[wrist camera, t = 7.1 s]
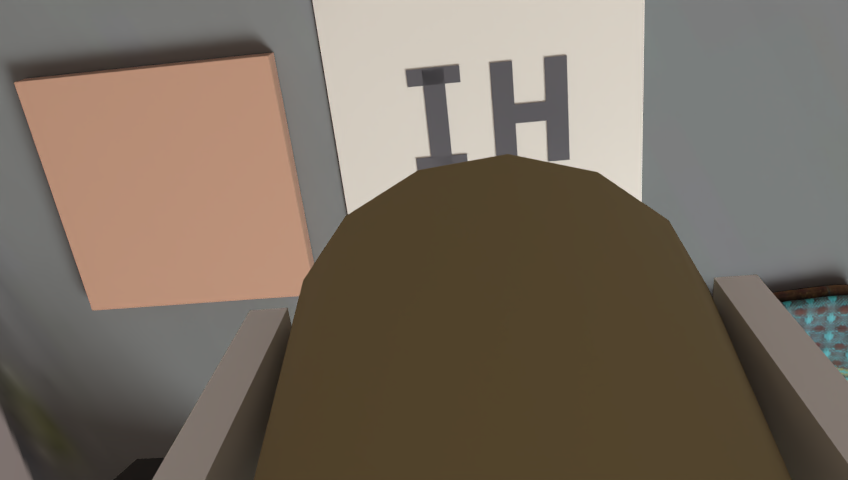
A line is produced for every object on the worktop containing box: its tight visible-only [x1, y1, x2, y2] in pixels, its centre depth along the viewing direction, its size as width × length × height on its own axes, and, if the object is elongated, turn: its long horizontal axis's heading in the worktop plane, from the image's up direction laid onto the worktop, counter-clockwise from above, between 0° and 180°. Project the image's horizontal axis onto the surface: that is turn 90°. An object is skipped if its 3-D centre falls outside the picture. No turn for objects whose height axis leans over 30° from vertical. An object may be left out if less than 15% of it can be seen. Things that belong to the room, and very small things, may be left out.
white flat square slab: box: [312, 0, 645, 214], centre depth 30 cm, size 13×13×1 cm
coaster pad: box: [14, 52, 314, 310], centre depth 31 cm, size 11×11×1 cm
